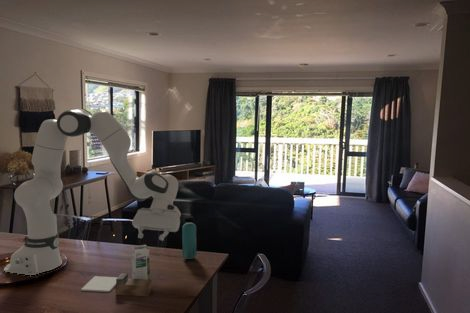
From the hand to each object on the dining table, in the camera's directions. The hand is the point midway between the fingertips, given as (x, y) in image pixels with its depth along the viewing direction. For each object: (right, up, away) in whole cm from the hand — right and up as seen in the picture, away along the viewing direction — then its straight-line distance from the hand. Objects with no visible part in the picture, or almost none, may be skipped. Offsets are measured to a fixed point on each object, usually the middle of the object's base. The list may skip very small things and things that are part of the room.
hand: (150, 238), depth 150 cm
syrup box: (-2, -16, -6) cm, 17 cm away
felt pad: (-17, -16, -8) cm, 25 cm away
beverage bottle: (+14, -13, +18) cm, 26 cm away
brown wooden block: (-3, -17, -13) cm, 22 cm away
